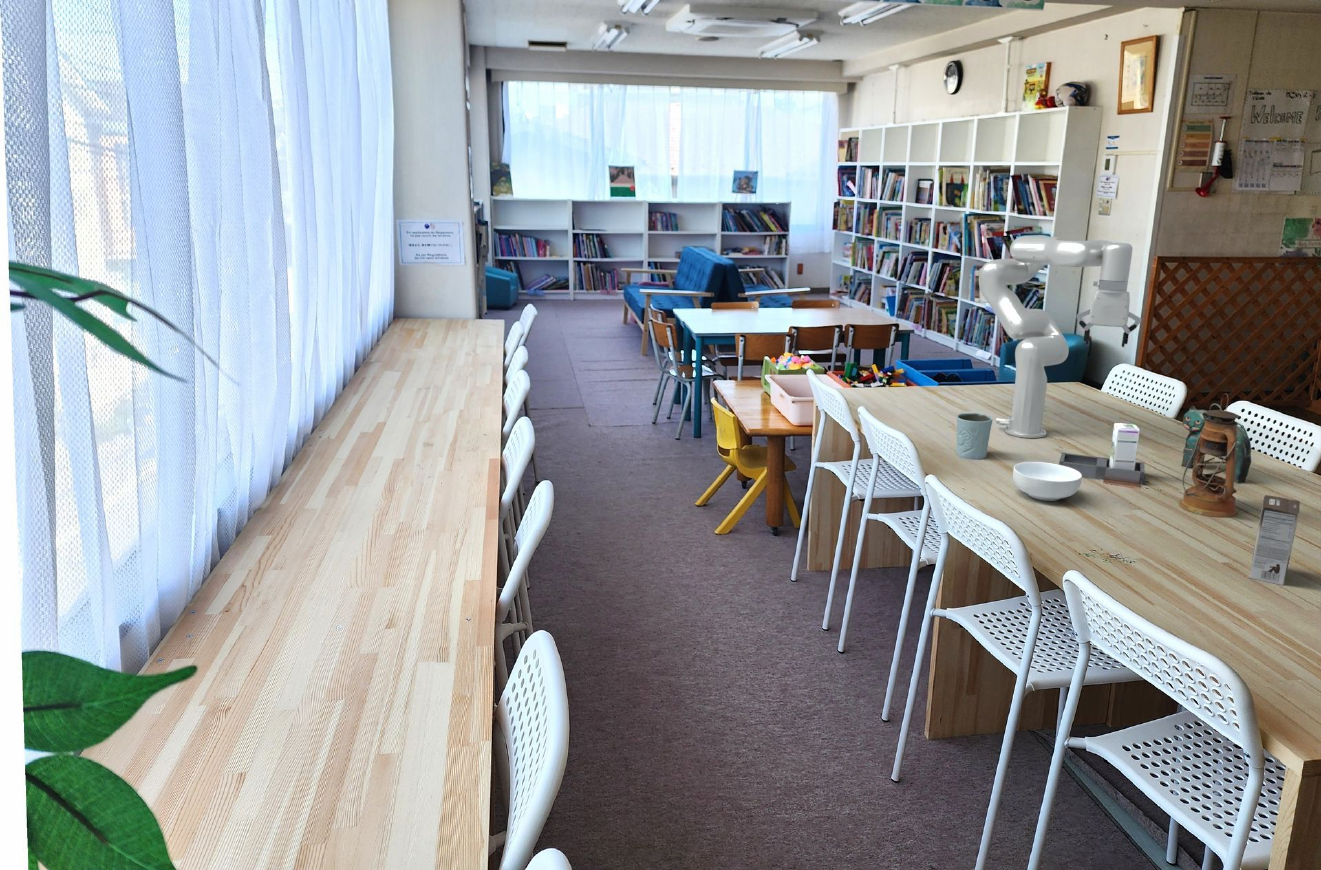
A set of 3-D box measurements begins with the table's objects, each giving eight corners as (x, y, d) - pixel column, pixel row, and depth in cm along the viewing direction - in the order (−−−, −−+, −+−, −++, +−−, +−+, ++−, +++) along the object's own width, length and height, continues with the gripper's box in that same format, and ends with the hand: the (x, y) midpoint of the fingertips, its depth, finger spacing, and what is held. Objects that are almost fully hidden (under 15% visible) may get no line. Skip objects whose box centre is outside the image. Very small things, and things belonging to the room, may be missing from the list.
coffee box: (1251, 564, 203) (1264, 494, 199) (1286, 571, 200) (1300, 500, 195) (1248, 578, 196) (1262, 505, 192) (1284, 585, 193) (1299, 512, 188)
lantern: (1253, 520, 229) (1275, 401, 221) (1199, 519, 229) (1220, 401, 221) (1214, 497, 245) (1234, 386, 237) (1165, 496, 246) (1183, 385, 237)
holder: (1056, 477, 261) (1058, 465, 260) (1060, 464, 273) (1061, 452, 272) (1142, 488, 252) (1144, 476, 251) (1142, 474, 264) (1144, 462, 263)
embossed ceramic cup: (990, 453, 283) (994, 415, 280) (986, 462, 274) (990, 422, 271) (955, 449, 287) (959, 411, 284) (950, 457, 278) (954, 418, 275)
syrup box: (1133, 479, 258) (1141, 429, 254) (1110, 477, 260) (1118, 427, 256) (1129, 473, 263) (1136, 423, 260) (1106, 471, 265) (1113, 422, 261)
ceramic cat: (1173, 464, 273) (1184, 398, 268) (1189, 462, 275) (1200, 396, 270) (1236, 485, 255) (1249, 414, 250) (1252, 482, 258) (1266, 412, 252)
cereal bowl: (1072, 511, 234) (1076, 484, 233) (1004, 499, 243) (1007, 473, 241) (1083, 492, 248) (1087, 467, 246) (1018, 481, 257) (1021, 457, 255)
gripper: (1079, 286, 270) (1072, 344, 275) (1146, 289, 263) (1137, 349, 267) (1081, 283, 277) (1073, 340, 281) (1146, 286, 269) (1137, 345, 274)
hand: (1104, 345), depth 274 cm, fingers open, 9 cm apart
